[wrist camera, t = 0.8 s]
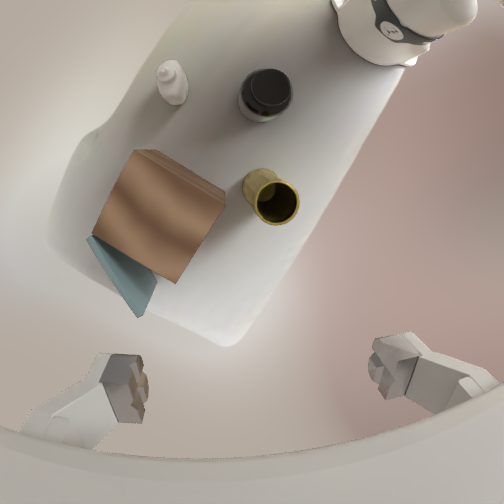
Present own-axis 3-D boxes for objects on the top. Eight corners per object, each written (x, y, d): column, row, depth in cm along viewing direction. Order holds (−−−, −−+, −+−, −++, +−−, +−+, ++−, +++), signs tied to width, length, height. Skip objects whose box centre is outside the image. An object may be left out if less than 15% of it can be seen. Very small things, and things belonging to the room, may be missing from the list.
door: (117, 216, 46) (91, 235, 36) (157, 282, 50) (142, 315, 40) (108, 223, 46) (80, 243, 36) (147, 287, 51) (131, 320, 40)
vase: (244, 208, 48) (253, 232, 35) (240, 170, 46) (247, 179, 33) (282, 204, 49) (305, 226, 35) (279, 166, 47) (301, 173, 33)
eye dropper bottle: (157, 99, 41) (136, 83, 30) (174, 68, 40) (159, 45, 29) (181, 109, 42) (167, 96, 31) (198, 78, 41) (190, 56, 30)
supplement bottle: (273, 128, 45) (289, 122, 33) (231, 114, 43) (234, 102, 32) (287, 90, 43) (307, 73, 31) (246, 75, 41) (253, 53, 30)
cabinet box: (155, 149, 44) (133, 149, 33) (224, 192, 47) (225, 205, 36) (120, 213, 47) (91, 233, 35) (185, 253, 50) (175, 284, 39)
